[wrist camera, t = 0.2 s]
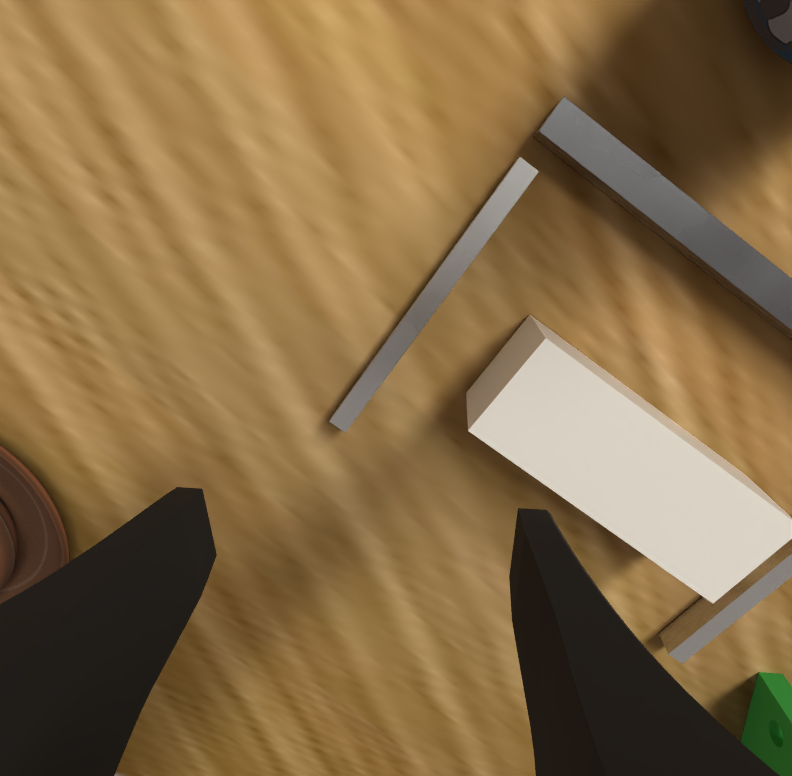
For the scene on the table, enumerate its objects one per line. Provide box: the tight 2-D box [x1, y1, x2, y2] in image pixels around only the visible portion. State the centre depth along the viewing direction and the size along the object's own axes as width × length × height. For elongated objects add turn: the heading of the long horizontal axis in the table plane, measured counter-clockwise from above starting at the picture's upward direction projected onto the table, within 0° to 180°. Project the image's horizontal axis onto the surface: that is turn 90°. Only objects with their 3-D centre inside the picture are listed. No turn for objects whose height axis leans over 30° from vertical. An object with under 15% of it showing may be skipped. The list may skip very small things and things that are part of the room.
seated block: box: [466, 315, 792, 603], centre depth 20 cm, size 4×11×4 cm, turn 55°
